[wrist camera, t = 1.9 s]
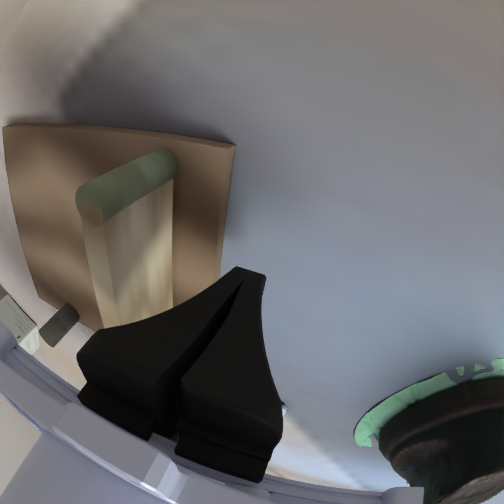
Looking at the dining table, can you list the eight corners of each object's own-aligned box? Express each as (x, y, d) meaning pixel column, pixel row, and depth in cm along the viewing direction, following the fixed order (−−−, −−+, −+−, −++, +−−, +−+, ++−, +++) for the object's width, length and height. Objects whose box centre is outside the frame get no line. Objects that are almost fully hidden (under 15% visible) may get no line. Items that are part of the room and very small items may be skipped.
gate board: (210, 372, 23) (185, 421, 19) (45, 292, 26) (15, 319, 22) (235, 144, 13) (182, 174, 9) (11, 124, 16) (-37, 142, 12)
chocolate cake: (503, 442, 20) (506, 504, 12) (358, 464, 27) (345, 529, 20) (572, 332, 11) (605, 423, 4) (354, 374, 19) (336, 496, 11)
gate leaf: (180, 362, 21) (150, 413, 17) (157, 352, 21) (125, 400, 17) (182, 152, 13) (108, 189, 8) (146, 146, 13) (69, 180, 9)
